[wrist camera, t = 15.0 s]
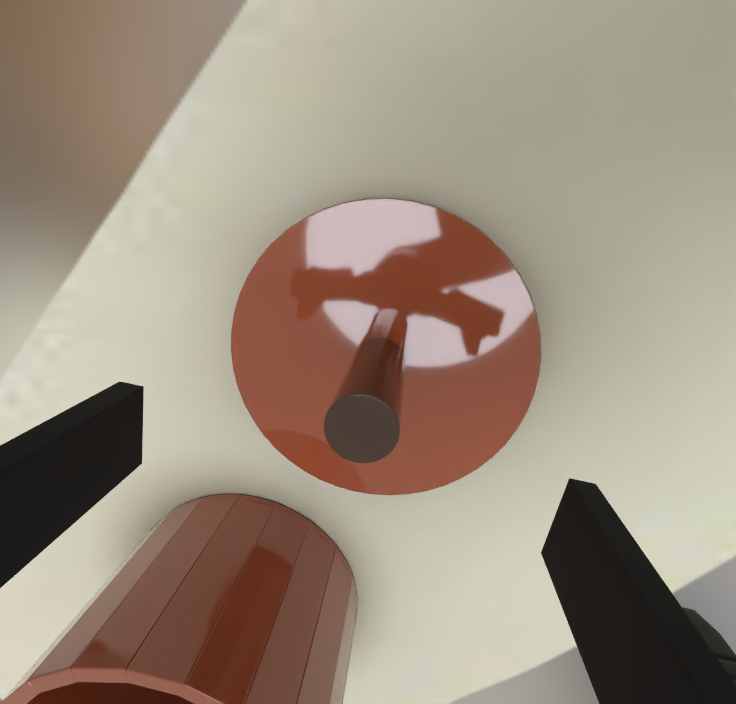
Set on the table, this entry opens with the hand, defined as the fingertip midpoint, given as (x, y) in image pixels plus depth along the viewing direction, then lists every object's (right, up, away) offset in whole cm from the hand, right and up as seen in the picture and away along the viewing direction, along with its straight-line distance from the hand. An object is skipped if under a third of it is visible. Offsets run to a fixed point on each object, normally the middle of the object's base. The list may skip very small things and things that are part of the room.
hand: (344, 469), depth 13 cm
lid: (+1, +3, +10) cm, 11 cm away
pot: (-8, -13, +17) cm, 23 cm away
